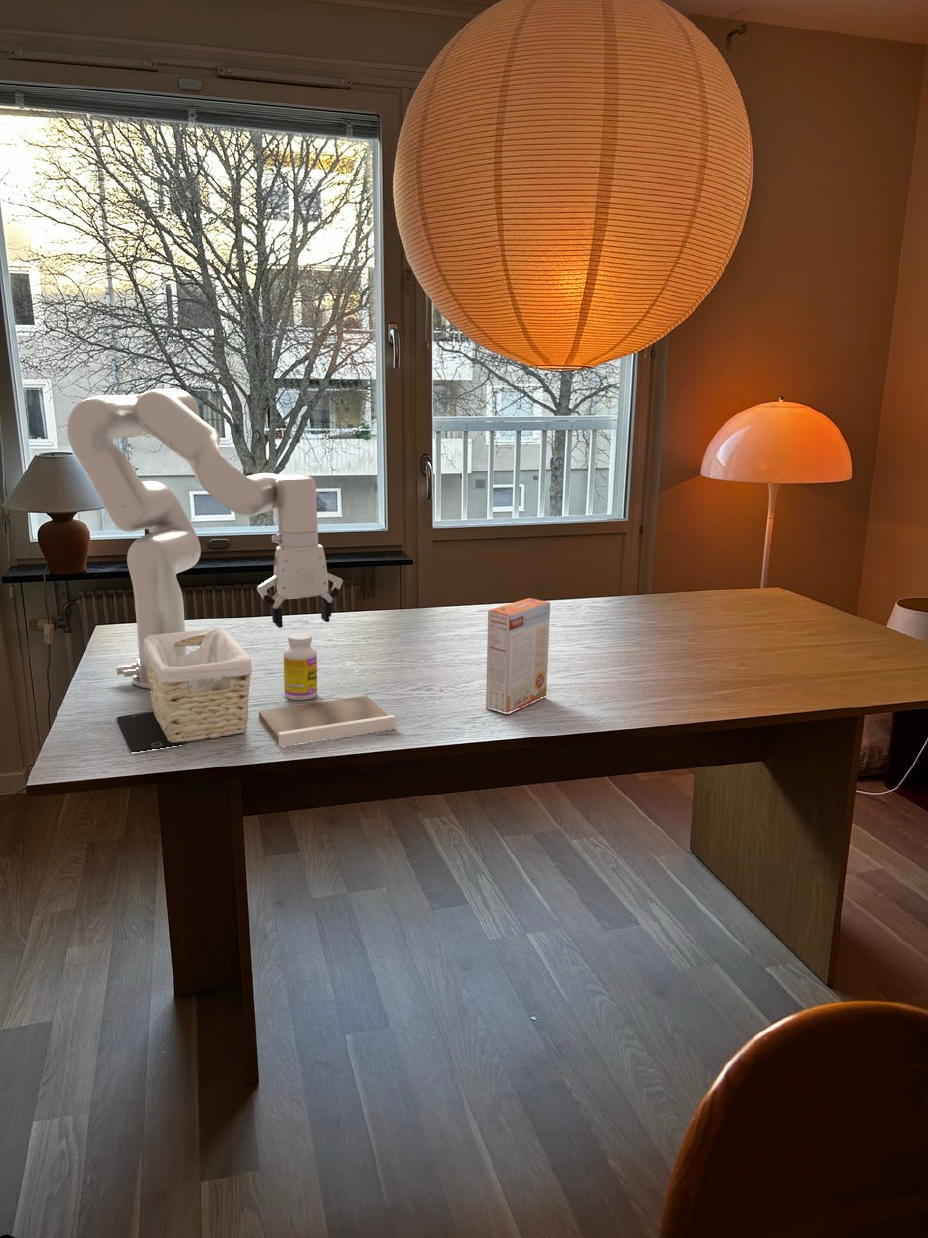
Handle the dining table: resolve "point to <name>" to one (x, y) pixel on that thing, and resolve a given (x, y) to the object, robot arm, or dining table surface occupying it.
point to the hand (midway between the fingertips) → (302, 623)
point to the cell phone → (144, 732)
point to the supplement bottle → (300, 667)
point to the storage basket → (198, 684)
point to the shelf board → (319, 714)
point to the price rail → (337, 730)
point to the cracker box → (517, 654)
